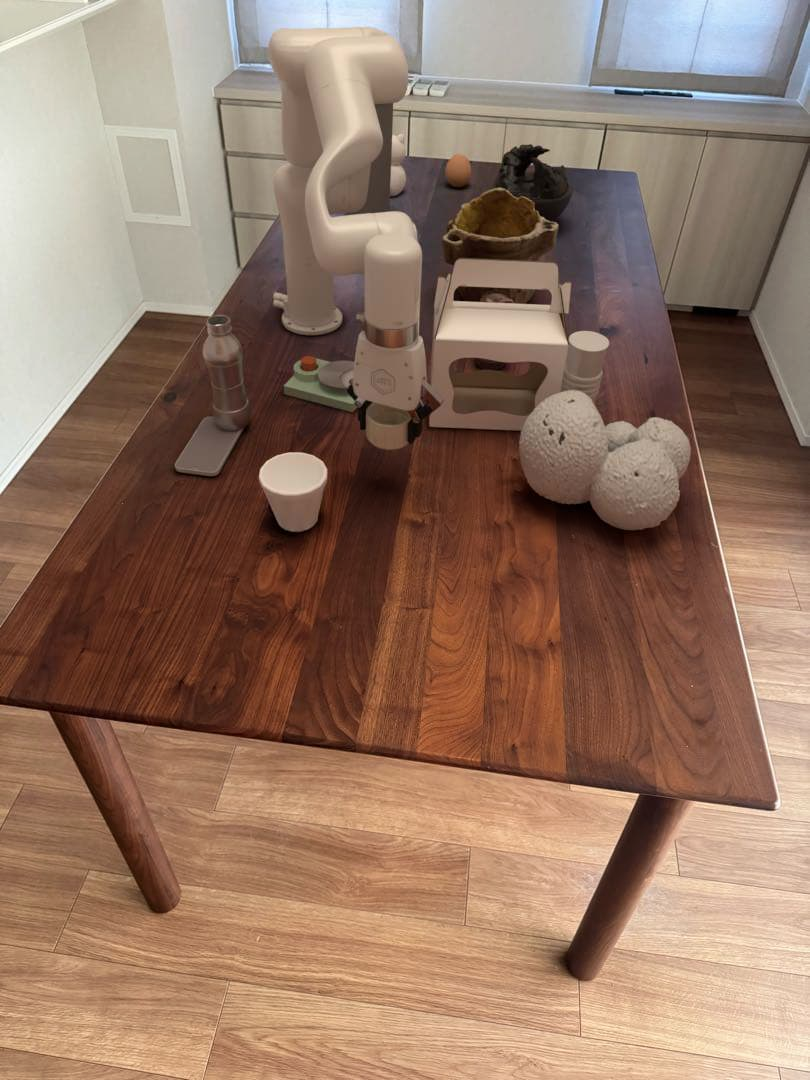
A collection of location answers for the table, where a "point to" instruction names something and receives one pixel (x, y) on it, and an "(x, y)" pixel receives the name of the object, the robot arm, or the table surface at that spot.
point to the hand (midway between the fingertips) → (389, 431)
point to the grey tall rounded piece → (226, 375)
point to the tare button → (308, 363)
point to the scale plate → (334, 373)
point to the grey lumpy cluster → (603, 461)
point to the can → (493, 298)
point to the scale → (317, 388)
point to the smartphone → (207, 449)
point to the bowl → (387, 426)
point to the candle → (585, 363)
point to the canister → (380, 166)
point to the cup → (294, 489)
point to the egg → (458, 170)
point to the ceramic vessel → (498, 236)
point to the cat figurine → (397, 165)
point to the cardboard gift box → (497, 344)
